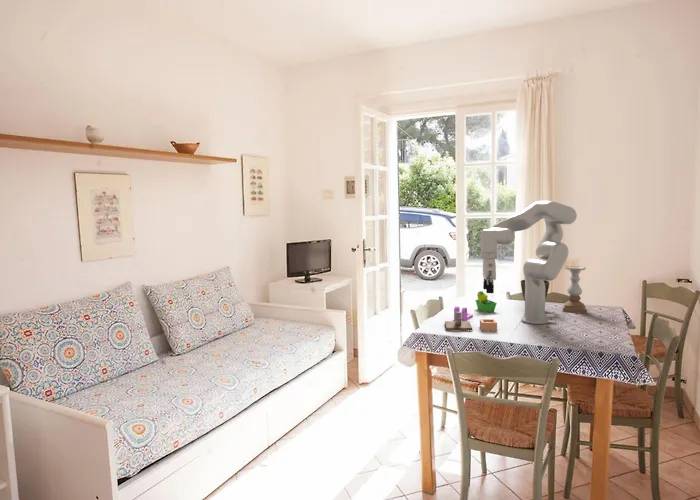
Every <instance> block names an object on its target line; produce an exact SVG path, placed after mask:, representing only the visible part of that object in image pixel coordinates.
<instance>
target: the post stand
mask: <svg viewBox="0 0 700 500" xmlns="http://www.w3.org/2000/svg"><path fill="white" fill-rule="evenodd" d="M461 314H462V311H460V312H455V320H454V321H453V320H452V321H451V320H450V321H449V320H447V321H446V320H445V321H444V326H446V327H445V331H447V330H465V331H464V332H471V331H470V330H472V331H473V326H472V324H471V322H470V321H468V320H466V321H461ZM468 330H469V331H468Z"/></svg>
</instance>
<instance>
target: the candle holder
mask: <svg viewBox="0 0 700 500" xmlns="http://www.w3.org/2000/svg"><path fill="white" fill-rule="evenodd" d="M564 268H565V270H568V271H569V272H570V274H571V276H570V277H569V280H570V282H571V283H570V285H569V287H568V288H567V293H568V295H569V296H568V299H569V300H568V301H565V303H564V304H563V306H562V312H565V313H575V314H576V313H577V314H578V313H579V314H585V313H586V307H587V306H586V305H585V303H584V302H582V301H581V299H582V298H581V295H582V294H583V289H582V288H581V285H580V284H579V282H580V281H581V277H580V274H581V272H582V271H585V270H586V268H587V267H585V266H581V265H567V266H565V267H564Z"/></svg>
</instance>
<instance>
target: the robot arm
mask: <svg viewBox="0 0 700 500" xmlns="http://www.w3.org/2000/svg"><path fill="white" fill-rule="evenodd" d="M577 215H578V214H577V211H576V210H575V208H573V207H572V206H568V205H566V204H562V203H560V202H556V201H551V200H537V201H535V202H533V203H532V204H530V205H529V206H528V207H526V208H525V209H523V210H522V211H520V212H519V213H517V214H515V215H512V216H510V217H508V218H504V219H501V220H500V221H498V222H496V223H495V224H493V226H491V227H490V228H488V229H486V228H485V229H482V230H481V232H480V259H481V260H482V278H483V286H482V288H483V290H486V292H485V294H494V289H495V288H494V283H495V282H494V281H495V280H496V279H497V270H496V269H497V266H496V265H497V264H496V260H498V245H509V244H510V245H511V243H513V242H514V240H515V232H519V231H526V230H527V229H529V228H531V227H532V226H533V225H535V224H536V223H538V222H540V221H541V220H543V219H544V222H545V232H544V234H543V236H542V237H541V240H540V241H539V244H538V245H537V247H536V250H535V255H536V257H538V258H529V259H528V260H526V261H525V262H524V264H523V265H522V266H523V269H522V270H523V276H524V280H525V301H524V316H523V317H521V322H523V323H525V324H530V325H544V324H548V322H549V320H548V319H555V318H556V315H555V314H551V313H546V300H545V283H544V280H546V281H549V282H550V281H554V280H555V279H556V278H557V277H558V275H560V274H559V273H561V271H562V269H563V267H564V265H565V263H566V262H567V260H568V257H569V248H568V245H566V244H565V243H563V242H562V239H563V237H564V231H563V228H562V225H571V224H573V223H574V222H575V221H576V220H577Z"/></svg>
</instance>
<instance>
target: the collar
mask: <svg viewBox="0 0 700 500" xmlns="http://www.w3.org/2000/svg"><path fill="white" fill-rule="evenodd" d="M479 328H480V330H481V331H482V330H485V331H484V332H497V331H498V321H497V320H496V319H495V318H479ZM487 330H489V331H487ZM490 330H491V331H490Z"/></svg>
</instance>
